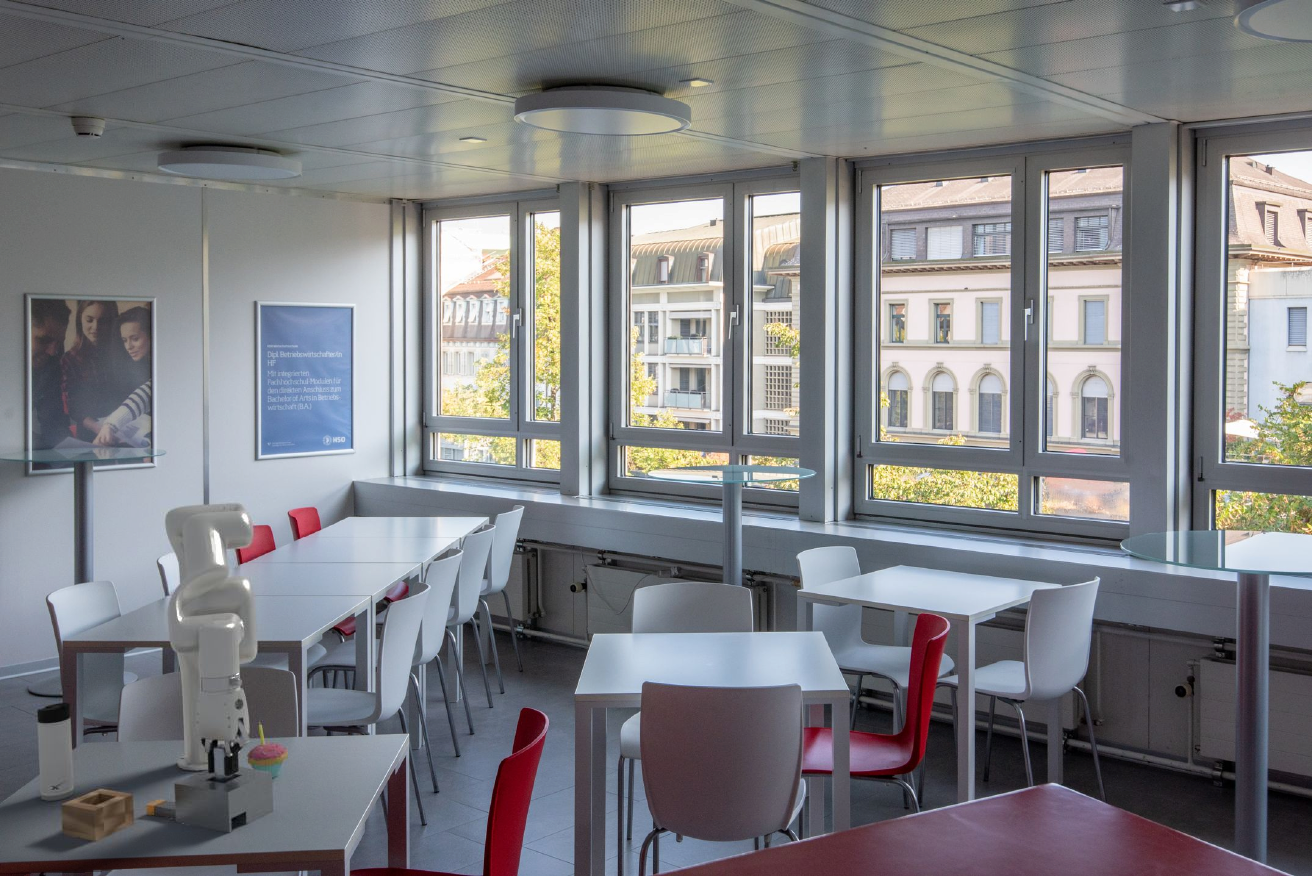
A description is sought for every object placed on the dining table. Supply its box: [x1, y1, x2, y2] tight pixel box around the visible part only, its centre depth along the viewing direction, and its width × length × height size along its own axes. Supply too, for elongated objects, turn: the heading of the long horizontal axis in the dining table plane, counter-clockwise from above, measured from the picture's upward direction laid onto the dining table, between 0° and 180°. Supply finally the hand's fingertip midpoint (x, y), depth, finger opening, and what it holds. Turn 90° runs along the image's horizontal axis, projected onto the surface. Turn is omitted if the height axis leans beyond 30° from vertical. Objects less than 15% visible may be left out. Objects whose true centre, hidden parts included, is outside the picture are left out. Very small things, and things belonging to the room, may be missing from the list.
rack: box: [61, 788, 135, 842], centre depth 221 cm, size 9×9×6 cm
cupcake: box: [246, 721, 289, 779], centre depth 250 cm, size 9×8×12 cm
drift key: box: [146, 798, 176, 820], centre depth 226 cm, size 3×16×2 cm, turn 67°
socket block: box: [174, 766, 274, 833], centre depth 226 cm, size 12×14×8 cm
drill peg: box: [213, 744, 234, 783], centre depth 226 cm, size 4×4×11 cm
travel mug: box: [36, 702, 75, 802], centre depth 239 cm, size 6×7×20 cm
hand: (223, 771), depth 226 cm, fingers closed on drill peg, 3 cm apart
